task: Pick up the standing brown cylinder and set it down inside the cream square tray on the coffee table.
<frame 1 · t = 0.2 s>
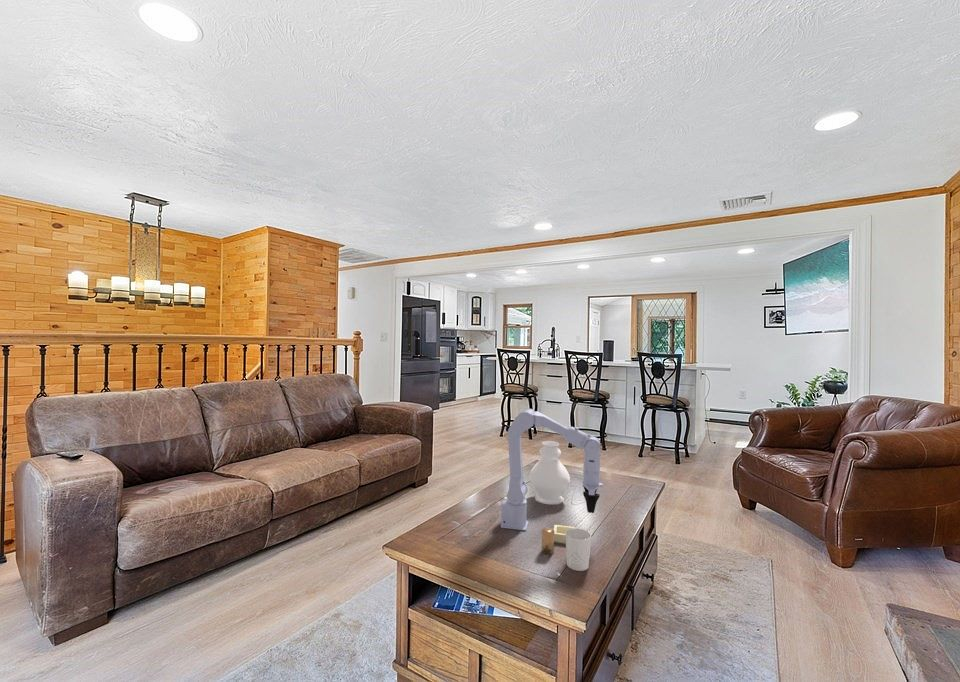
hand: (590, 508, 155), 10 cm above the table, fingers open, 7 cm apart
brown cylinder: (547, 551, 143), on the table
cream square tray: (564, 538, 153), on the table
decorative vase: (549, 499, 190), on the table
white cup: (577, 566, 135), on the table
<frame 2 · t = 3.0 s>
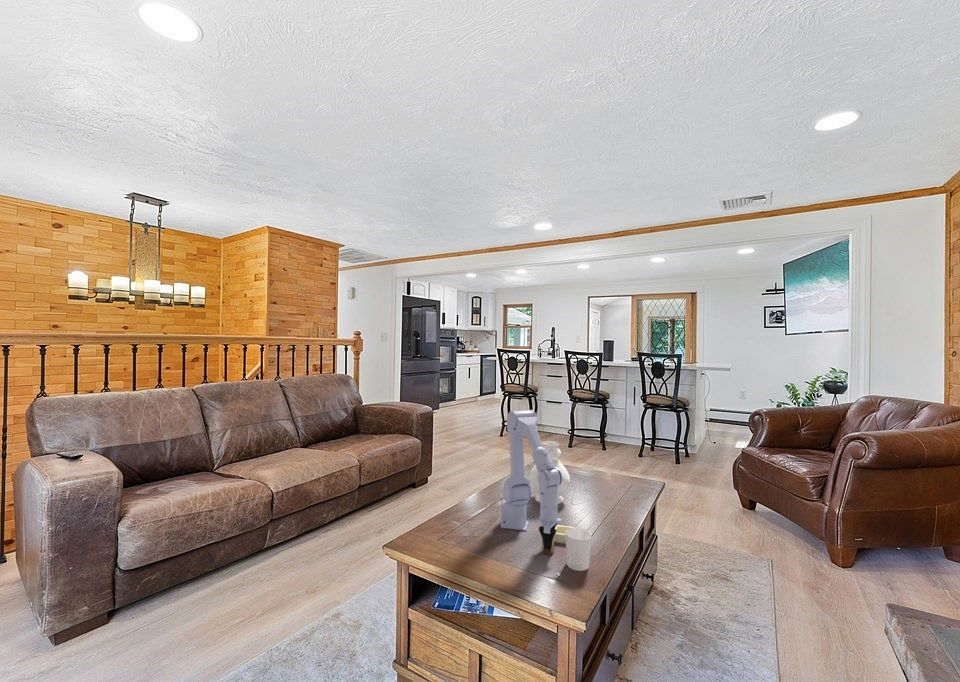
hand: (547, 545, 143), 2 cm above the table, fingers closed on brown cylinder, 4 cm apart
brown cylinder: (547, 551, 143), on the table, touching gripper
everything else where it was.
when the fingers open (3 cm above the table, at t = 6.4 s): brown cylinder stays where it is, resting on cream square tray.
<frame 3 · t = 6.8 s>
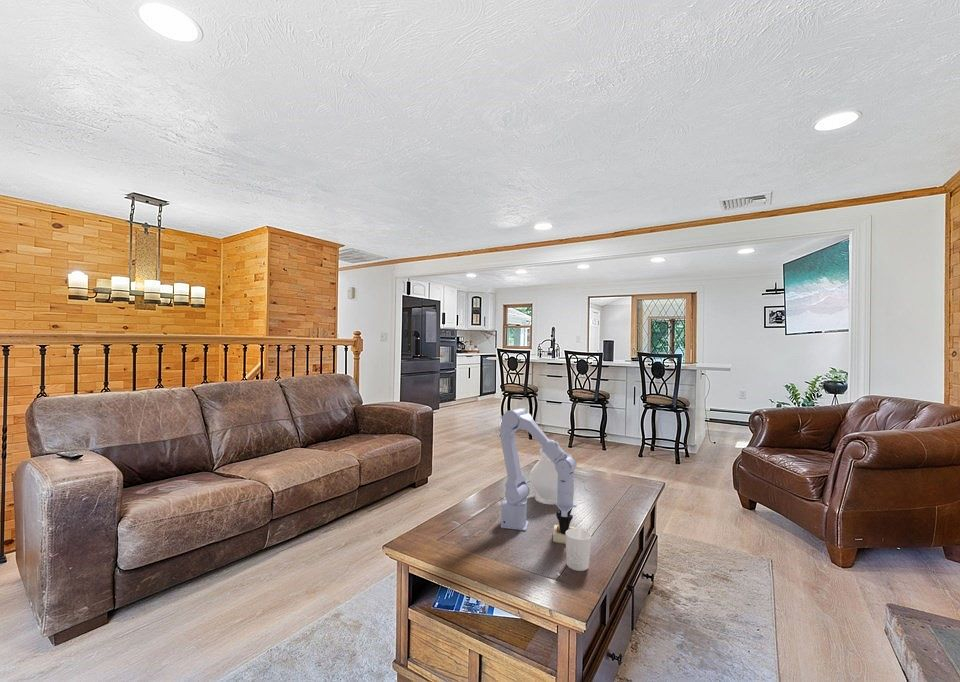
hand: (564, 529, 153), 3 cm above the table, fingers open, 7 cm apart
brown cylinder: (563, 537, 153), resting on cream square tray
everything else where it was.
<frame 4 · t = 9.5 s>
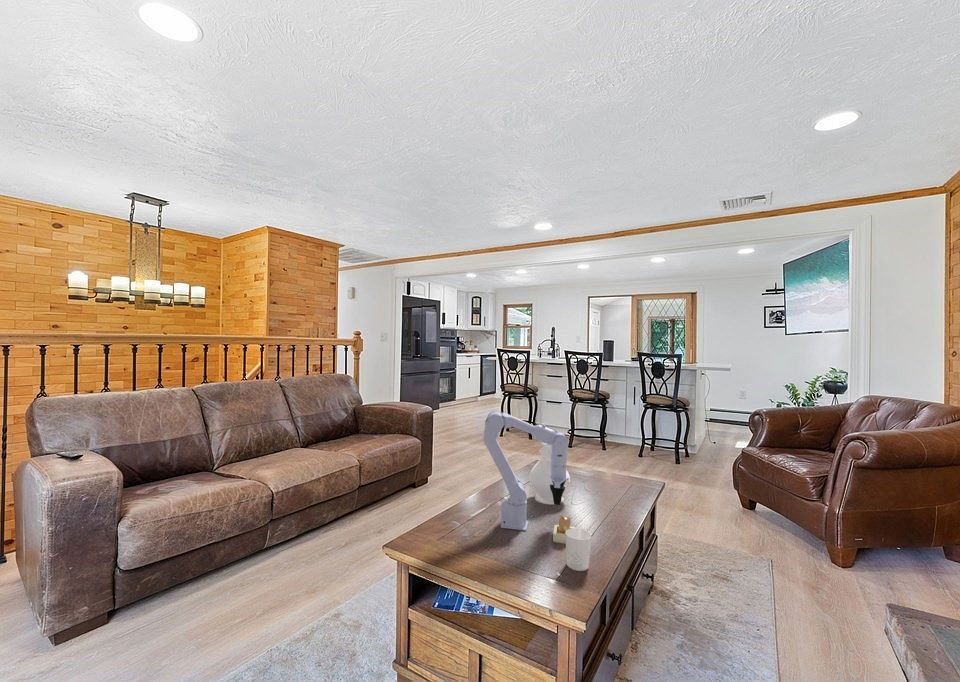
hand: (557, 500, 162), 10 cm above the table, fingers open, 7 cm apart
nothing on the table moved.
at the end: brown cylinder 0.2 cm off-centre on the cream square tray, point 0.5 cm above the cream square tray's base; brown cylinder tilted 2°; the gripper is holding nothing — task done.
